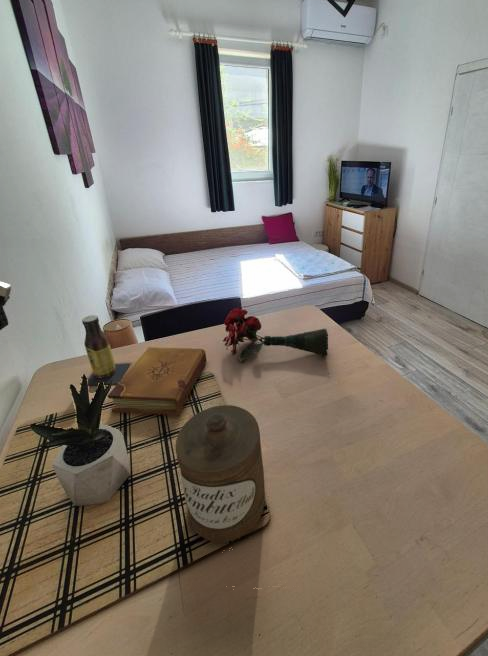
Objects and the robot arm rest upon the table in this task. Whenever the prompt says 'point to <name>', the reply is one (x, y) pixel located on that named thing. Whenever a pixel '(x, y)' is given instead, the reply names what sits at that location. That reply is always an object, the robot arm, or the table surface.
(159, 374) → the diary
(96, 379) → the mat
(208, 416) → the wooden container
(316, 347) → the carnation
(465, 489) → the table surface
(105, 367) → the sauce bottle
